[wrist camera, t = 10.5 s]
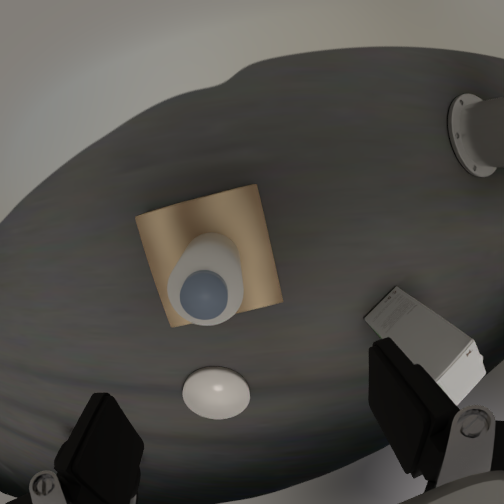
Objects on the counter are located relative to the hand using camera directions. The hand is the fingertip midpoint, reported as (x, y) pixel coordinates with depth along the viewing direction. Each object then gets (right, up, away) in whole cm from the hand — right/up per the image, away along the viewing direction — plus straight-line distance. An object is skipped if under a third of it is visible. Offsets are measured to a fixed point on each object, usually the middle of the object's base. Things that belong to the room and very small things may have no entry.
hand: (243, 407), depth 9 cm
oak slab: (-4, +5, +23) cm, 24 cm away
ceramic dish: (-5, -14, +27) cm, 31 cm away
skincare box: (+20, -4, +27) cm, 34 cm away
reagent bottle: (-4, +4, +19) cm, 20 cm away
